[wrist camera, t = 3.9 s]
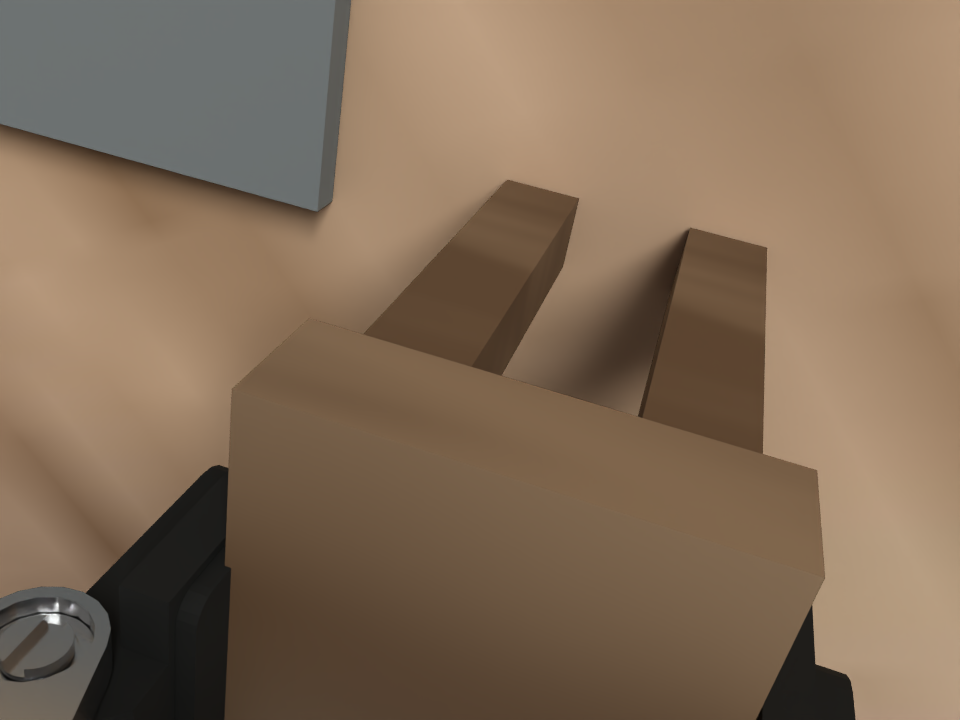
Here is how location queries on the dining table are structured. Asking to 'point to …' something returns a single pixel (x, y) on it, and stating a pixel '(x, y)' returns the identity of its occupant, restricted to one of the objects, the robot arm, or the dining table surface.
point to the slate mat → (185, 86)
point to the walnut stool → (515, 505)
